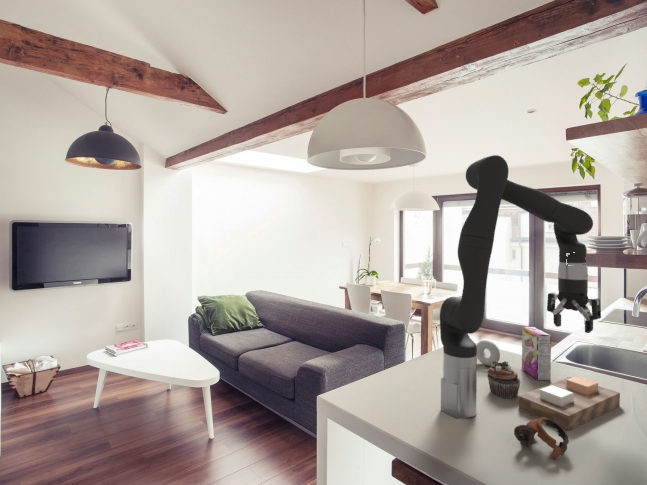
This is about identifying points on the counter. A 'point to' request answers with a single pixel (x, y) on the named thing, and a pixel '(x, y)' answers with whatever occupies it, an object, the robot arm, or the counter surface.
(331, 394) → the counter surface
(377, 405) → the counter surface
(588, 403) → the key panel
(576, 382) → the terracotta key
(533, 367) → the candy bar box
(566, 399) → the white rectangular block
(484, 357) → the donut
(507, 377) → the cupcake
